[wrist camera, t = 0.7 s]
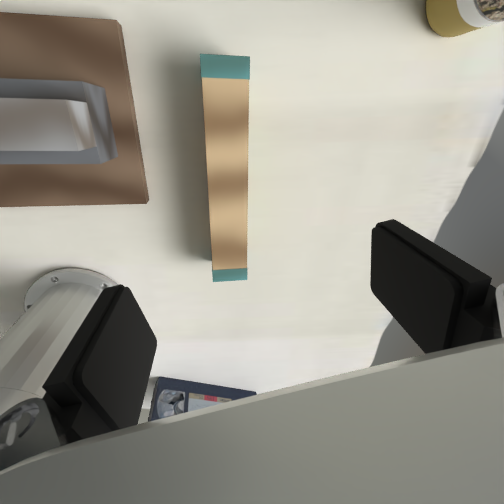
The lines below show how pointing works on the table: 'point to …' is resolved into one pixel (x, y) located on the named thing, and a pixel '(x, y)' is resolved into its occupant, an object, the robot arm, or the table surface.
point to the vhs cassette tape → (189, 397)
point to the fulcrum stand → (67, 114)
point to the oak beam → (227, 160)
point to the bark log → (462, 15)
